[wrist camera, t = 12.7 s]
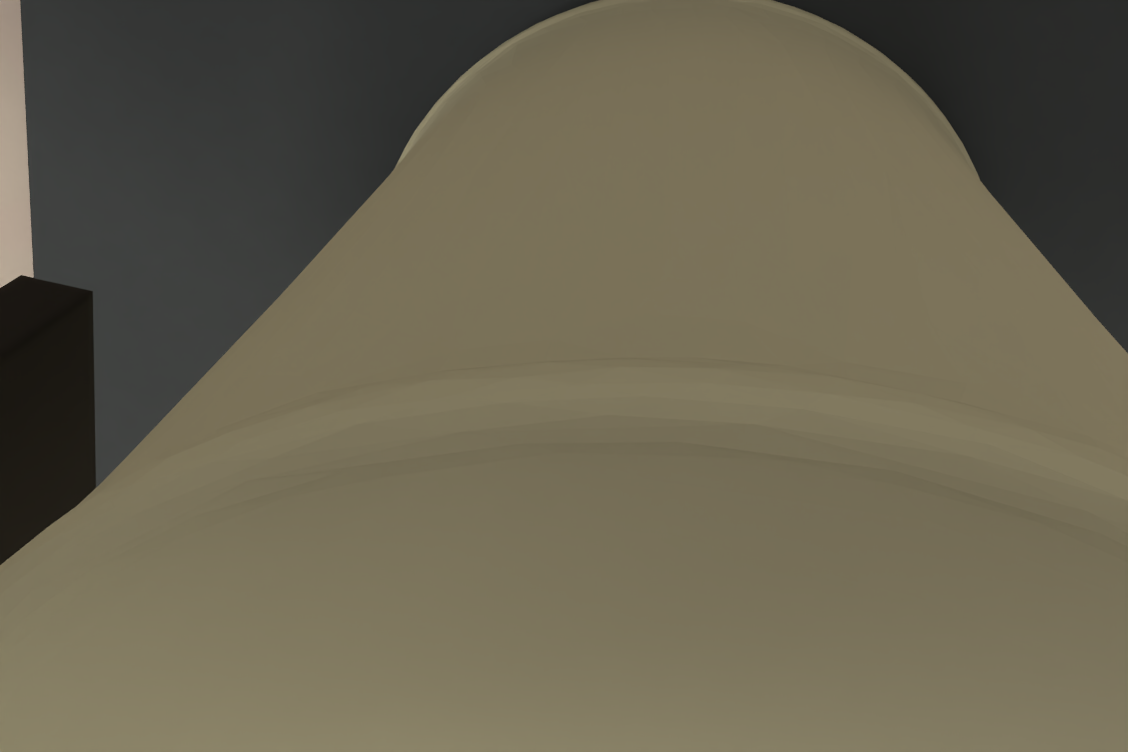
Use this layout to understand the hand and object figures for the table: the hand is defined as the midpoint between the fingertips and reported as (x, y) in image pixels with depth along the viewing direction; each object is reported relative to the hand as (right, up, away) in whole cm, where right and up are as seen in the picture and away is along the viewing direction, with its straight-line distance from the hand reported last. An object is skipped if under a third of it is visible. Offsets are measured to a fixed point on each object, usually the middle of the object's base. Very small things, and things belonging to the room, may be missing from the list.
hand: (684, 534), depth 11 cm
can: (0, +3, +5) cm, 6 cm away
